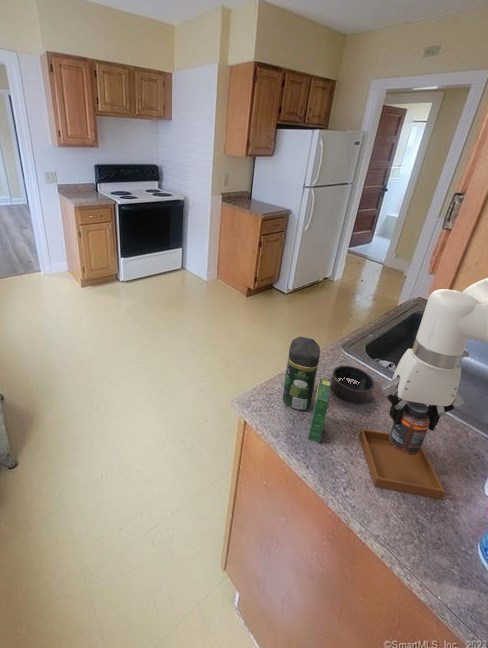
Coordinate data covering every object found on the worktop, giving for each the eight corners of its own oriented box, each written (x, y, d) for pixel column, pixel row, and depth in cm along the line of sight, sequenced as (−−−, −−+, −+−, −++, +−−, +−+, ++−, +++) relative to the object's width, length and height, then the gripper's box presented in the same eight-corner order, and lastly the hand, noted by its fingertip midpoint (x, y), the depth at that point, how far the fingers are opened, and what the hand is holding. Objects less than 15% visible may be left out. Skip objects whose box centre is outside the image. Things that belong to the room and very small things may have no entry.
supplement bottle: (424, 449, 70) (440, 409, 66) (409, 461, 67) (425, 420, 63) (397, 429, 75) (410, 390, 70) (382, 439, 72) (395, 400, 68)
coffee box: (311, 416, 86) (319, 377, 81) (323, 420, 84) (331, 380, 80) (307, 440, 79) (315, 398, 74) (319, 444, 78) (328, 402, 73)
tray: (415, 445, 78) (418, 437, 77) (441, 499, 66) (445, 491, 65) (358, 435, 80) (360, 428, 79) (374, 486, 68) (376, 478, 67)
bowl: (365, 380, 99) (368, 368, 98) (376, 407, 89) (379, 394, 87) (327, 374, 101) (329, 363, 99) (333, 401, 91) (336, 388, 89)
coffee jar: (284, 383, 97) (292, 331, 90) (311, 391, 94) (322, 337, 87) (280, 406, 88) (288, 350, 82) (309, 415, 86) (321, 358, 79)
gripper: (474, 347, 64) (446, 415, 70) (381, 335, 67) (363, 402, 73) (499, 371, 57) (466, 445, 64) (394, 357, 60) (373, 429, 66)
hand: (411, 421), depth 68 cm, fingers closed on supplement bottle, 6 cm apart
